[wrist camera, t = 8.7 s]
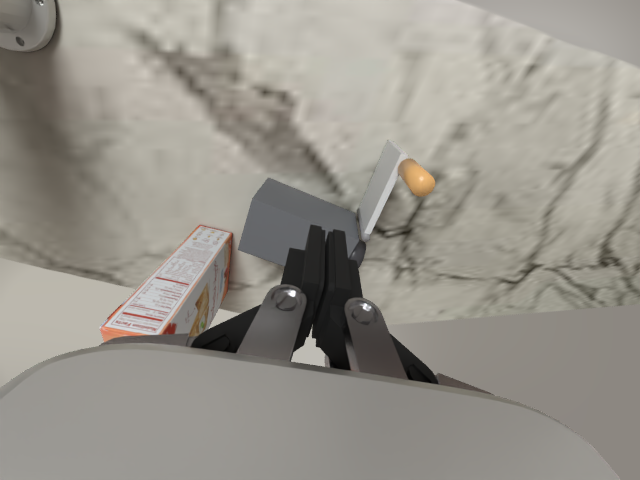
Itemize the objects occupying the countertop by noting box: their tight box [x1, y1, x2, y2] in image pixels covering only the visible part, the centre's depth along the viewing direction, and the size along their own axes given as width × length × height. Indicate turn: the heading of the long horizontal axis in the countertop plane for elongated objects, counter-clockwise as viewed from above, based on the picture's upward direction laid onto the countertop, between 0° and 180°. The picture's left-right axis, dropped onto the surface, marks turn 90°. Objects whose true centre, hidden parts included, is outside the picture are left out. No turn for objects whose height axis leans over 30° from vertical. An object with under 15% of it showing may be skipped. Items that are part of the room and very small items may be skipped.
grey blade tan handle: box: [357, 140, 435, 242], centre depth 29 cm, size 11×2×13 cm, turn 163°
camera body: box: [238, 178, 366, 268], centre depth 35 cm, size 17×8×9 cm, turn 67°
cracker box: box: [100, 225, 232, 342], centre depth 35 cm, size 14×6×21 cm, turn 165°
